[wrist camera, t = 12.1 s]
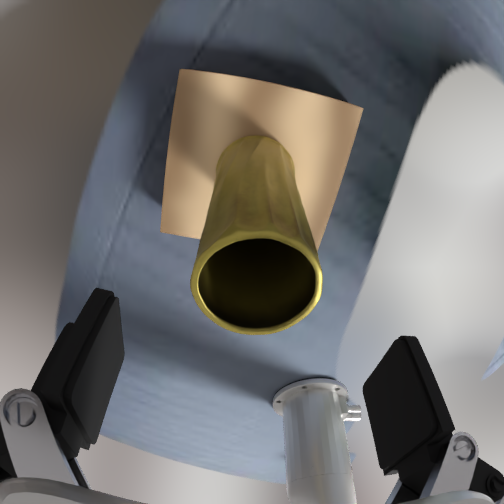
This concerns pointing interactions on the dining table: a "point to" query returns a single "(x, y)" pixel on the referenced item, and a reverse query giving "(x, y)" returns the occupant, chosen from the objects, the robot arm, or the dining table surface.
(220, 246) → the vase
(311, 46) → the dining table surface
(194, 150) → the plinth
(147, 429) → the dining table surface
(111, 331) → the robot arm
